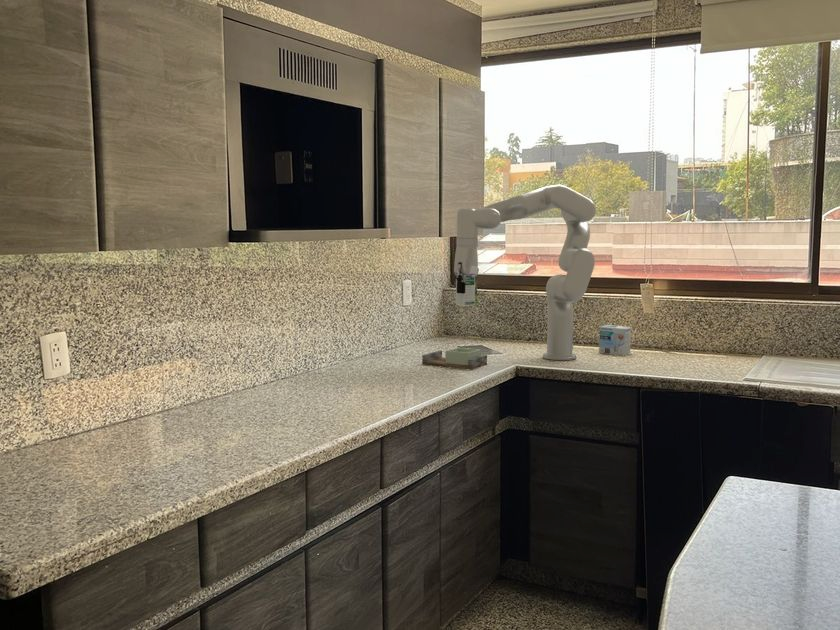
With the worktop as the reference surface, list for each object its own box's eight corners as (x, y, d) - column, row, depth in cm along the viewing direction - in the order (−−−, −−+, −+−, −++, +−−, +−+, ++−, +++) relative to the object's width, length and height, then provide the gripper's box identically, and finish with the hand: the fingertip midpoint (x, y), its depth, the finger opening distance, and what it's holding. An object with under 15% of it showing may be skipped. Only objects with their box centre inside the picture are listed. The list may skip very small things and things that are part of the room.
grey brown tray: (438, 359, 287) (438, 350, 287) (486, 364, 277) (486, 355, 276) (422, 364, 277) (422, 355, 276) (471, 370, 267) (472, 360, 266)
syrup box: (463, 306, 273) (464, 266, 272) (455, 305, 278) (455, 265, 277) (477, 306, 276) (477, 265, 274) (468, 304, 281) (469, 265, 279)
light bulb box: (598, 353, 302) (599, 326, 301) (604, 351, 307) (605, 324, 306) (624, 356, 296) (625, 328, 295) (630, 353, 301) (631, 326, 300)
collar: (457, 359, 281) (457, 347, 281) (480, 361, 277) (480, 349, 276) (445, 363, 273) (445, 350, 273) (469, 365, 269) (469, 353, 268)
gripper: (469, 242, 284) (468, 290, 286) (445, 243, 269) (445, 293, 271) (487, 243, 280) (486, 291, 282) (464, 243, 265) (463, 294, 267)
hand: (466, 292), depth 277 cm, fingers closed on syrup box, 7 cm apart
